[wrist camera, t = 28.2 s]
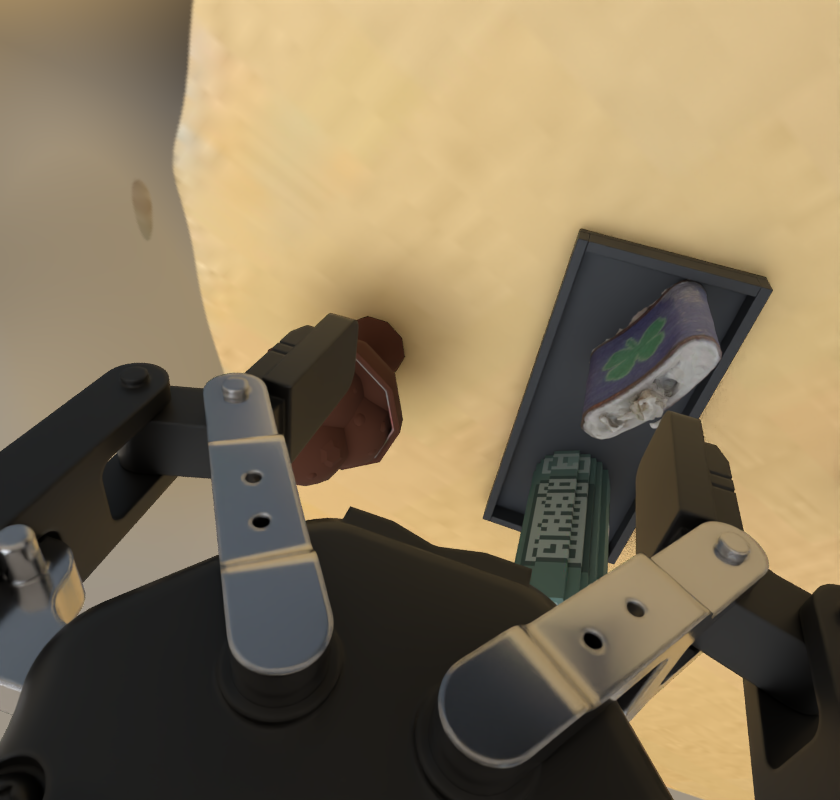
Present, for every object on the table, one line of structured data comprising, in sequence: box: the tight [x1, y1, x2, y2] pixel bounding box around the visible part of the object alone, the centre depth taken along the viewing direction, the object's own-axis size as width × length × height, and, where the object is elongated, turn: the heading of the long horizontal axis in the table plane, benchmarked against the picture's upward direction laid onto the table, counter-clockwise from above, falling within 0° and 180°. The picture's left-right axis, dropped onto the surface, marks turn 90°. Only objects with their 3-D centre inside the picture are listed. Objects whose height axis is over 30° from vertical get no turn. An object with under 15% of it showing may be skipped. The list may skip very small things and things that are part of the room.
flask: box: [580, 279, 722, 440], centre depth 35 cm, size 9×3×11 cm, turn 142°
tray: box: [483, 229, 773, 564], centre depth 44 cm, size 12×26×2 cm, turn 170°
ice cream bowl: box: [268, 316, 405, 486], centre depth 42 cm, size 11×11×15 cm
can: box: [515, 450, 610, 605], centre depth 42 cm, size 6×6×15 cm
